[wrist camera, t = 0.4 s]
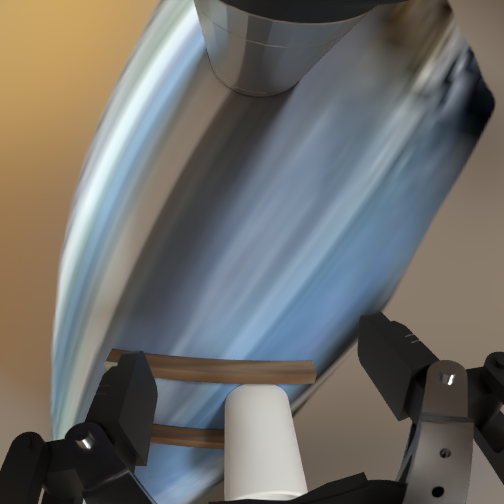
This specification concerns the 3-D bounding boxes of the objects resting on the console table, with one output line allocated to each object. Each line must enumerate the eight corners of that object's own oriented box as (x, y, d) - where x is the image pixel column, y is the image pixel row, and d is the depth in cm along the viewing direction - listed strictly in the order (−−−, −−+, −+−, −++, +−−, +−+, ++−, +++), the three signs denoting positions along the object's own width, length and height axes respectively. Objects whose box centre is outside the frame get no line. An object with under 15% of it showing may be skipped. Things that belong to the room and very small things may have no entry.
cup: (298, 388, 36) (325, 494, 21) (273, 426, 38) (287, 522, 23) (237, 375, 35) (241, 490, 20) (217, 415, 37) (214, 518, 22)
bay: (112, 348, 33) (104, 363, 30) (312, 360, 35) (317, 376, 32) (131, 426, 38) (126, 440, 35) (292, 435, 39) (295, 450, 37)
